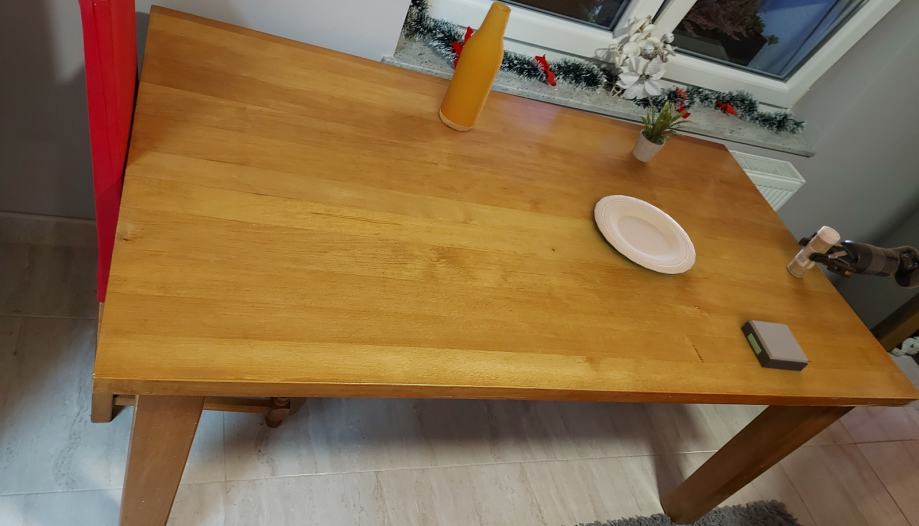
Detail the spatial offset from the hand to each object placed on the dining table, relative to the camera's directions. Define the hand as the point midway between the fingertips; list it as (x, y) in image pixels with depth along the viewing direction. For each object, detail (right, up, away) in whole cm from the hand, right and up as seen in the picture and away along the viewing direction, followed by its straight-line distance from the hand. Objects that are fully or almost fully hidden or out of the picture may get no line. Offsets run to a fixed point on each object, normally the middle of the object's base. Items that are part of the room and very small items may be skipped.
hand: (806, 248), depth 160 cm
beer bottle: (-82, +30, +2) cm, 87 cm away
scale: (-17, -21, -20) cm, 34 cm away
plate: (-41, +2, -7) cm, 41 cm away
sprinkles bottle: (0, -6, +6) cm, 8 cm away
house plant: (-32, +24, +21) cm, 45 cm away
